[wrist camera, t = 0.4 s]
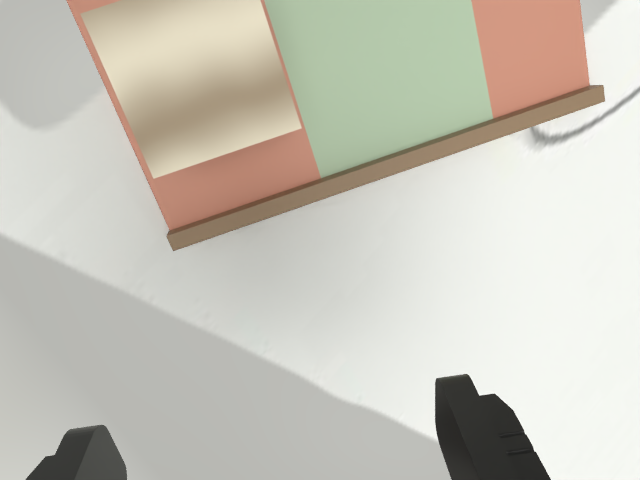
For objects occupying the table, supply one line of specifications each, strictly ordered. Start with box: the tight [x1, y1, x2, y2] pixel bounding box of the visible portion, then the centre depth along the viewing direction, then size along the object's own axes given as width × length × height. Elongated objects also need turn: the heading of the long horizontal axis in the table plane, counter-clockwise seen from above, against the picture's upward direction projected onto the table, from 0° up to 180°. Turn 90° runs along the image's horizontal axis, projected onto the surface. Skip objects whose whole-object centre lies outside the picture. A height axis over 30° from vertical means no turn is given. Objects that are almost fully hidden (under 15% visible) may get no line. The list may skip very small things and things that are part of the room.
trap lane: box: [67, 0, 605, 251], centre depth 32 cm, size 20×34×2 cm, turn 108°
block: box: [80, 0, 302, 179], centre depth 28 cm, size 8×8×10 cm
